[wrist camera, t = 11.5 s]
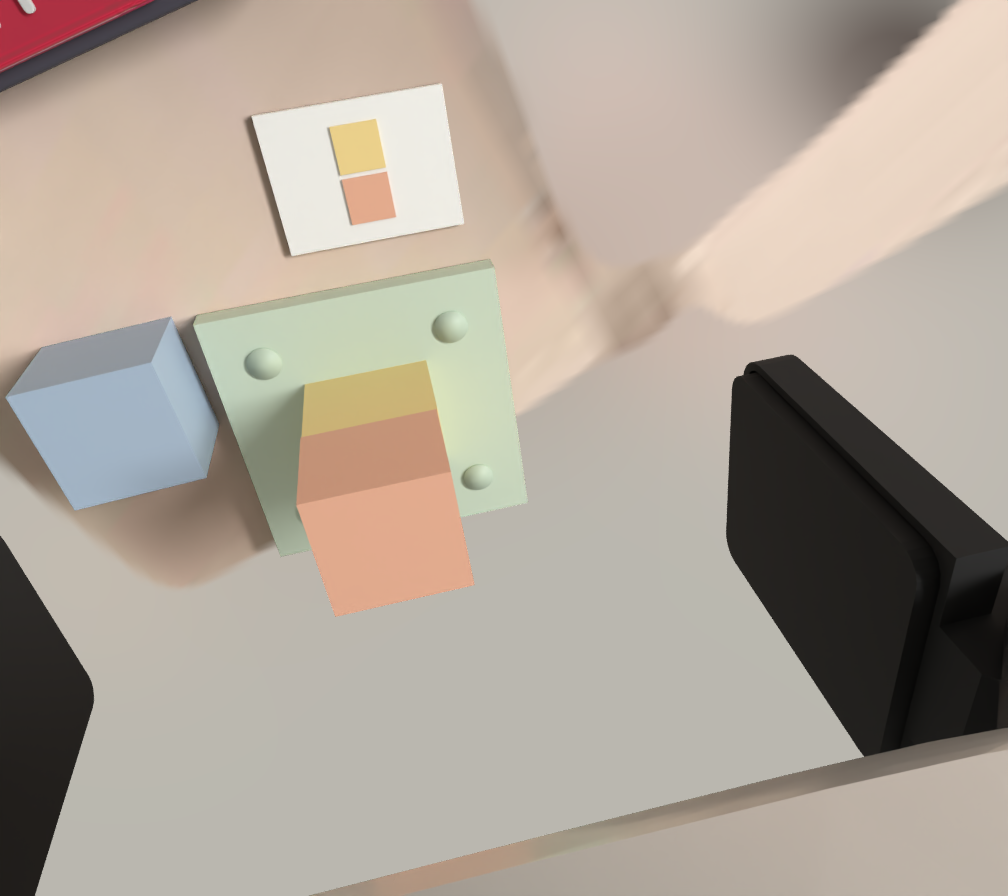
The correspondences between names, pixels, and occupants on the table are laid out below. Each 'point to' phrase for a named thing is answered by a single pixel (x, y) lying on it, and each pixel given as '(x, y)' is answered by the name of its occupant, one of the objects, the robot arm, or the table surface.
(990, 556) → the robot arm
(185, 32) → the table surface
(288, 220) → the tile
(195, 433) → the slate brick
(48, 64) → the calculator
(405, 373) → the ochre brick
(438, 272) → the build plate
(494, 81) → the table surface
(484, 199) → the table surface
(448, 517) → the terracotta brick
